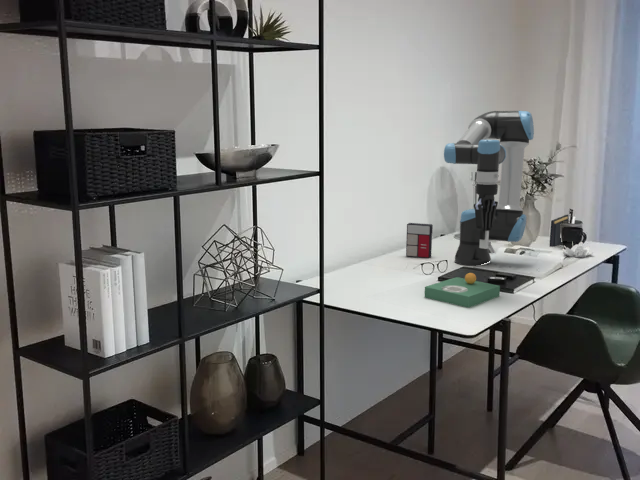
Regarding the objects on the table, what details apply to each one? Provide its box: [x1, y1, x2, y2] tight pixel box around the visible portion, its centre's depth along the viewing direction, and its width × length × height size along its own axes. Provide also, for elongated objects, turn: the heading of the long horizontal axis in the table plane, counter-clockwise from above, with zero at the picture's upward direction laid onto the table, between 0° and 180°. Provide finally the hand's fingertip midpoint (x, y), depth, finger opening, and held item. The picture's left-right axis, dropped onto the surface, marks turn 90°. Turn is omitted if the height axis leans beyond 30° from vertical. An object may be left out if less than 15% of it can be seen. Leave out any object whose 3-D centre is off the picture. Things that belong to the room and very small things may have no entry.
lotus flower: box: [561, 241, 594, 258], centre depth 292 cm, size 14×15×9 cm
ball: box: [464, 272, 477, 284], centre depth 238 cm, size 4×4×4 cm
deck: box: [424, 276, 501, 308], centre depth 235 cm, size 18×20×4 cm
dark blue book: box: [549, 214, 569, 248], centre depth 319 cm, size 20×2×15 cm, turn 139°
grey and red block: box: [405, 222, 433, 259], centre depth 299 cm, size 11×4×15 cm, turn 67°
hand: (483, 248), depth 241 cm, fingers closed
